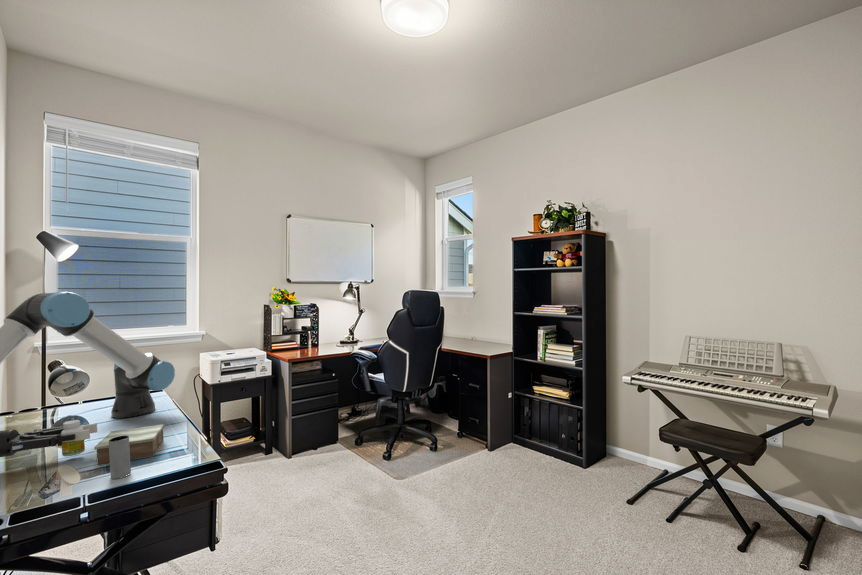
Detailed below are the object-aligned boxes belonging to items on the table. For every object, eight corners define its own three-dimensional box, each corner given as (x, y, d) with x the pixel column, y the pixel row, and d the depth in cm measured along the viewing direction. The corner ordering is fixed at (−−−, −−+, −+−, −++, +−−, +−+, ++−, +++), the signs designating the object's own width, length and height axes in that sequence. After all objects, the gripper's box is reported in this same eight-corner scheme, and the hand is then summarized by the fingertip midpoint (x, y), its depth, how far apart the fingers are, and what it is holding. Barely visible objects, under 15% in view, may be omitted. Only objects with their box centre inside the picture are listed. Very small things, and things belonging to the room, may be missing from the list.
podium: (112, 448, 140) (111, 431, 140) (165, 440, 146) (164, 424, 145) (95, 466, 126) (94, 446, 126) (154, 456, 132) (153, 438, 132)
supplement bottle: (69, 457, 130) (67, 425, 129) (58, 456, 132) (55, 424, 131) (89, 450, 135) (87, 419, 135) (77, 449, 137) (75, 418, 136)
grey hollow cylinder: (128, 477, 118) (125, 439, 117) (108, 480, 116) (105, 442, 116) (133, 470, 122) (131, 434, 122) (114, 473, 120) (111, 436, 120)
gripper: (15, 446, 135) (104, 433, 144) (-22, 469, 118) (82, 453, 126) (13, 422, 135) (102, 410, 143) (-24, 442, 118) (80, 427, 126)
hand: (92, 430), depth 135 cm, fingers closed on supplement bottle, 5 cm apart
